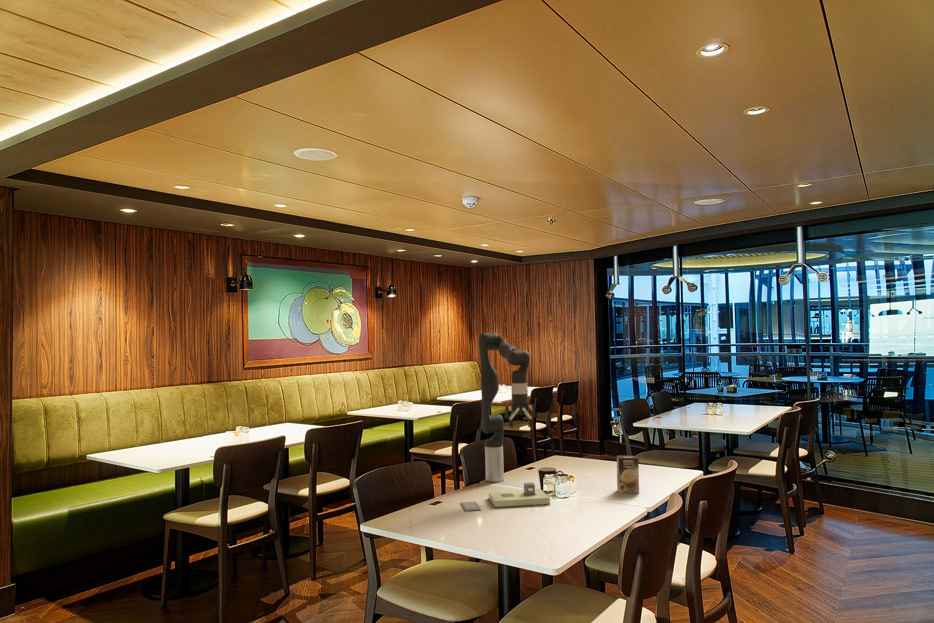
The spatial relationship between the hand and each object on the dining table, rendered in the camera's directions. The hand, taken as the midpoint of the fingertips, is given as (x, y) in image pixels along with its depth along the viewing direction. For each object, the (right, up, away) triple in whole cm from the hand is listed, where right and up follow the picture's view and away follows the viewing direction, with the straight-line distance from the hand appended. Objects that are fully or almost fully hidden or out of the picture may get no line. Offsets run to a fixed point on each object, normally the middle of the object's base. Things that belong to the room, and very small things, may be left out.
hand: (520, 427), depth 282 cm
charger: (+3, -29, -16) cm, 33 cm away
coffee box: (+49, -29, -4) cm, 57 cm away
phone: (-24, -30, -24) cm, 45 cm away
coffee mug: (+14, -30, +1) cm, 33 cm away
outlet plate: (-2, -29, -17) cm, 34 cm away
